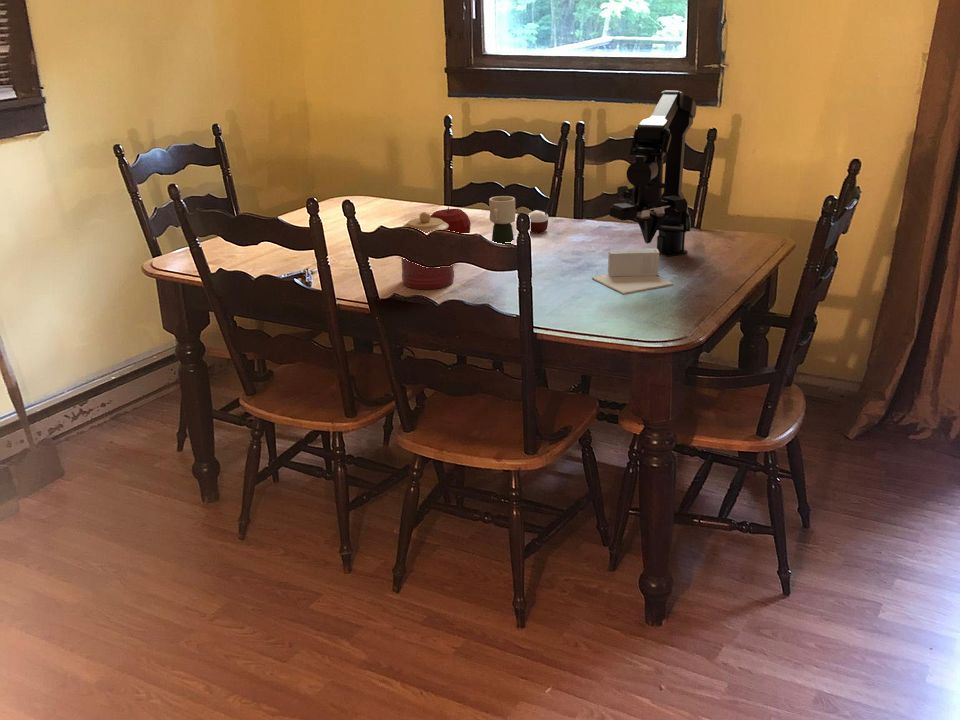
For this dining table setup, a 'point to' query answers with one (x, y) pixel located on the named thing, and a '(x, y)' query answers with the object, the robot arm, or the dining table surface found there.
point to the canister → (424, 276)
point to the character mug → (502, 218)
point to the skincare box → (633, 262)
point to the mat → (631, 283)
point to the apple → (454, 219)
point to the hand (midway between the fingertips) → (647, 243)
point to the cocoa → (540, 219)
